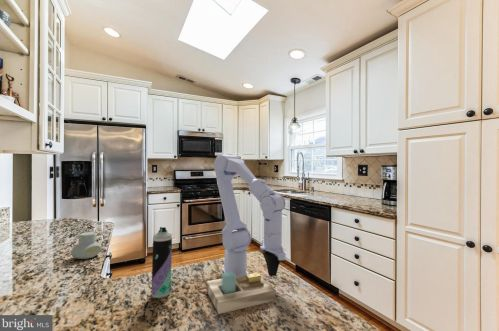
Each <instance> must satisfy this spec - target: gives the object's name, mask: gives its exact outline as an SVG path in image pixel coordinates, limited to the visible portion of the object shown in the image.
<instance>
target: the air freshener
mask: <svg viewBox="0 0 499 331" xmlns="http://www.w3.org/2000/svg"><path fill="white" fill-rule="evenodd" d="M102 248H103V247H102V245H101V244H100V243H99V242H97V241H96V233H95V232H93V231H89V232H88V231H87V232H83V233H80V234H79V235H78V244H76V245H75V246H73V247H72V248H71V251H70V255H71V256H72V257H73V258H74V259H78V260H89V258H90V259H92V258H94V257H96V256H97V255H98V254H100V253H101V252H102Z"/></svg>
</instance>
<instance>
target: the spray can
mask: <svg viewBox="0 0 499 331" xmlns="http://www.w3.org/2000/svg"><path fill="white" fill-rule="evenodd" d="M172 235H173V233H170V232H169V230H167V227H163V226H160V227H159V230H158V231H157V233H155V234H153V236H152V257H151V258H152V262H151V297H152V298H155V299H161V298H166V297H168V296H169V295H171V292H172V259H173V258H172V253H173V252H172V251H173V249H172V248H173V247H172V246H173V244H172V243H173V236H172Z"/></svg>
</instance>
